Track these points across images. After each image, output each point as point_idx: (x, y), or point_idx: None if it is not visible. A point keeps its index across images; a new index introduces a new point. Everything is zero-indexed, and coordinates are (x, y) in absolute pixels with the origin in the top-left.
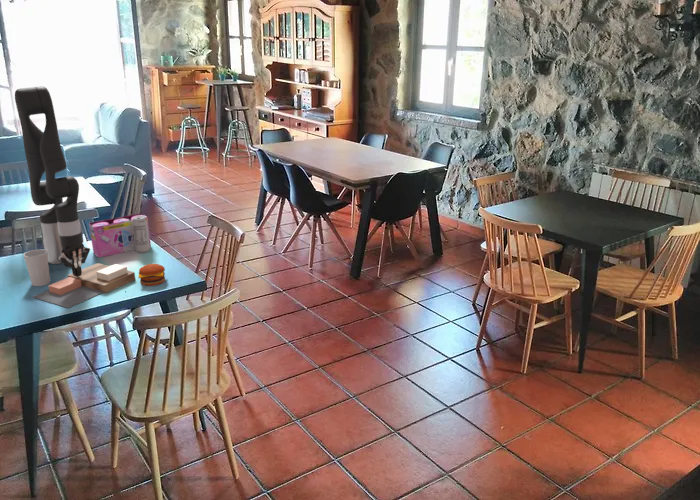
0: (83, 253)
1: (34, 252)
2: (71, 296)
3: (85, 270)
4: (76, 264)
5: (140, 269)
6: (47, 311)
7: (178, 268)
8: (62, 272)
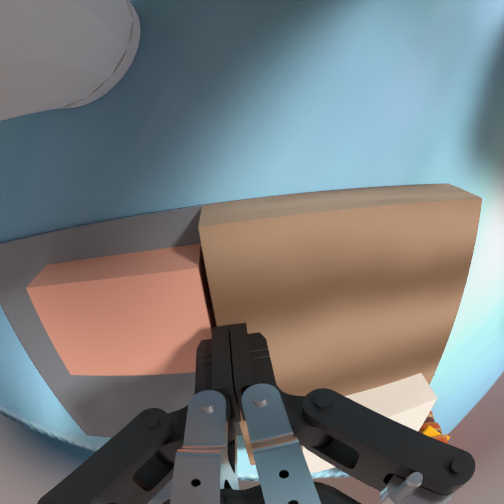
0: (380, 477)
1: None
2: (120, 393)
3: (358, 254)
4: (229, 452)
5: None
6: (27, 400)
7: (485, 387)
8: None
